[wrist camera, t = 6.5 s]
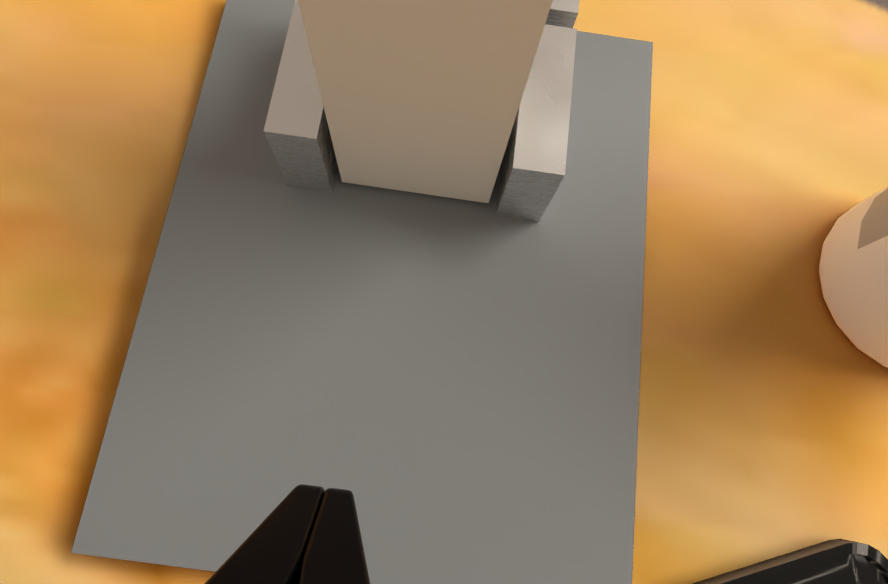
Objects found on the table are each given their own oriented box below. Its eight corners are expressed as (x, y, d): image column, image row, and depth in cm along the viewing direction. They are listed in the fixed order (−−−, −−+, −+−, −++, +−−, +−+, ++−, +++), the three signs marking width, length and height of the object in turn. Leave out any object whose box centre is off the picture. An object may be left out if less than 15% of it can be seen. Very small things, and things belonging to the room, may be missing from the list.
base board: (618, 616, 18) (630, 625, 17) (89, 547, 17) (71, 552, 17) (642, 59, 23) (652, 42, 22) (239, -2, 23) (232, -22, 22)
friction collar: (538, 222, 20) (564, 175, 17) (288, 186, 20) (263, 131, 17) (553, 59, 22) (580, -14, 18) (324, 24, 22) (308, -55, 18)
